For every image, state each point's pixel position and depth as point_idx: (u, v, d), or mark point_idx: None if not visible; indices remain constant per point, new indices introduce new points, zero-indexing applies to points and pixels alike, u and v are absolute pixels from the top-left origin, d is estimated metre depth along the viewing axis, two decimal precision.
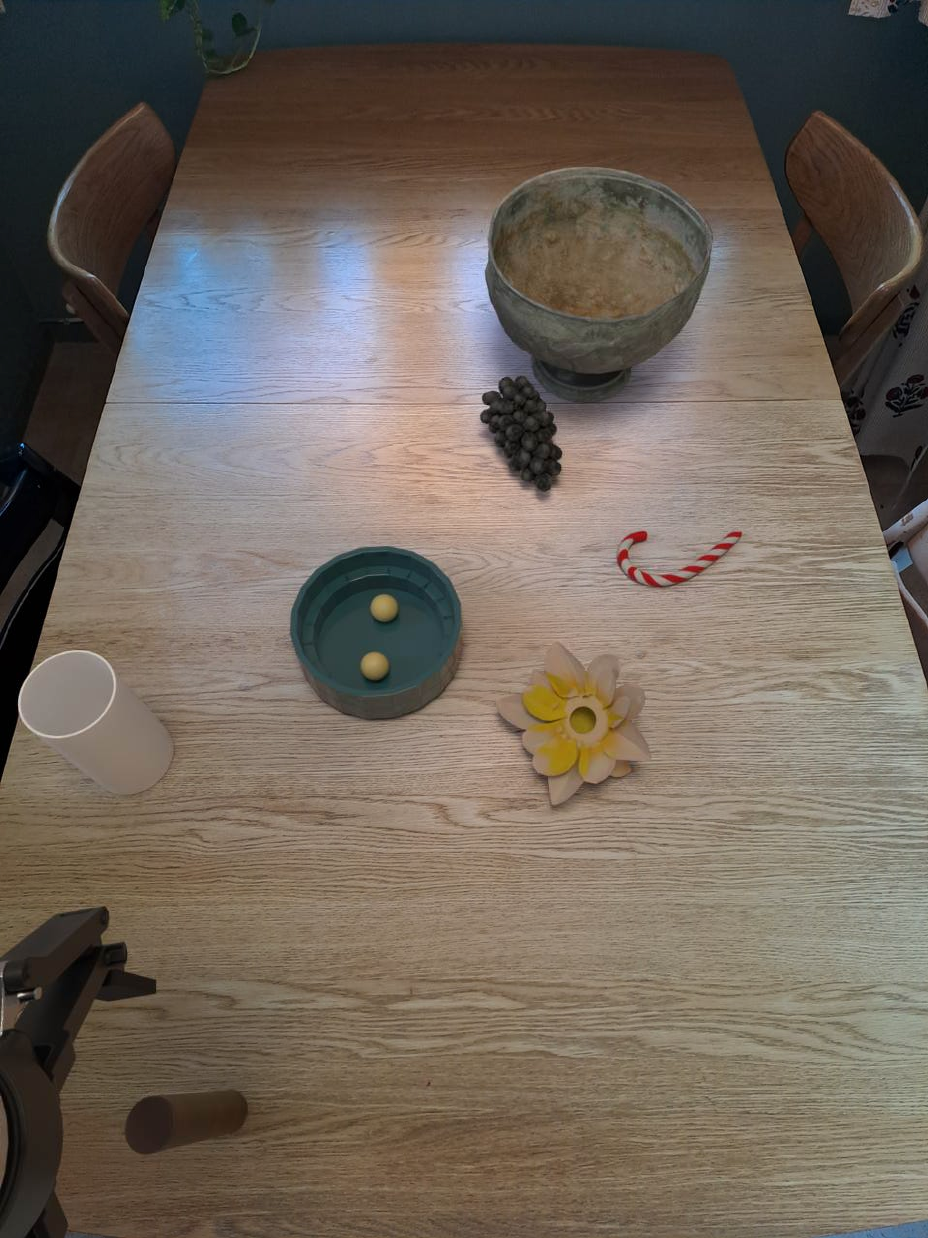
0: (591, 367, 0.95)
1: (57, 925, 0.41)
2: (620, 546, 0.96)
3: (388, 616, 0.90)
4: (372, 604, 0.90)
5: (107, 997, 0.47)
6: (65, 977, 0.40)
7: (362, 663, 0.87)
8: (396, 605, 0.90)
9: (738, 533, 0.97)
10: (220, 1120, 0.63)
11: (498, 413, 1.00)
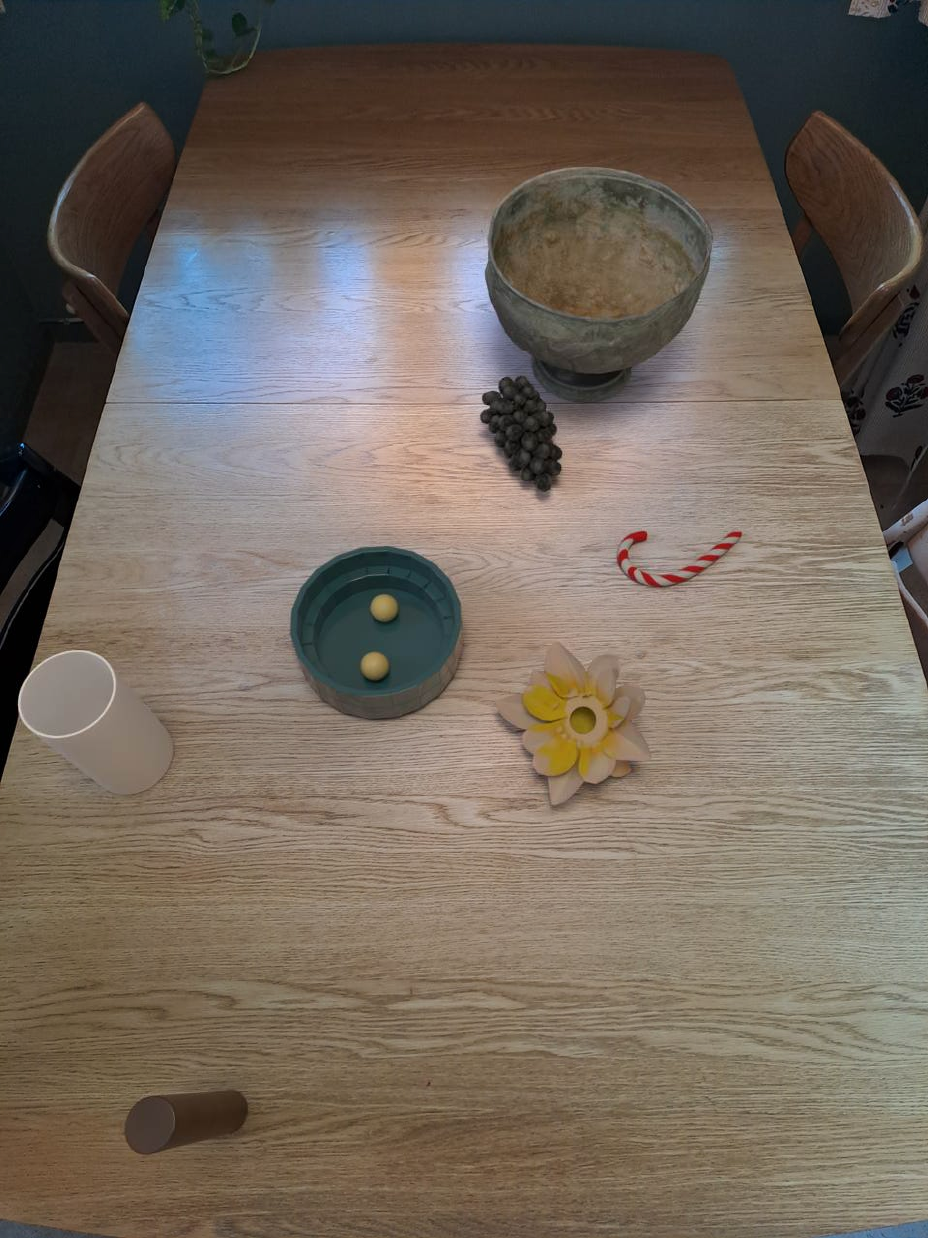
0: (591, 367, 0.95)
1: None
2: (620, 546, 0.96)
3: (388, 616, 0.90)
4: (372, 604, 0.90)
5: None
6: None
7: (362, 663, 0.87)
8: (396, 605, 0.90)
9: (738, 533, 0.97)
10: (220, 1120, 0.63)
11: (498, 413, 1.00)
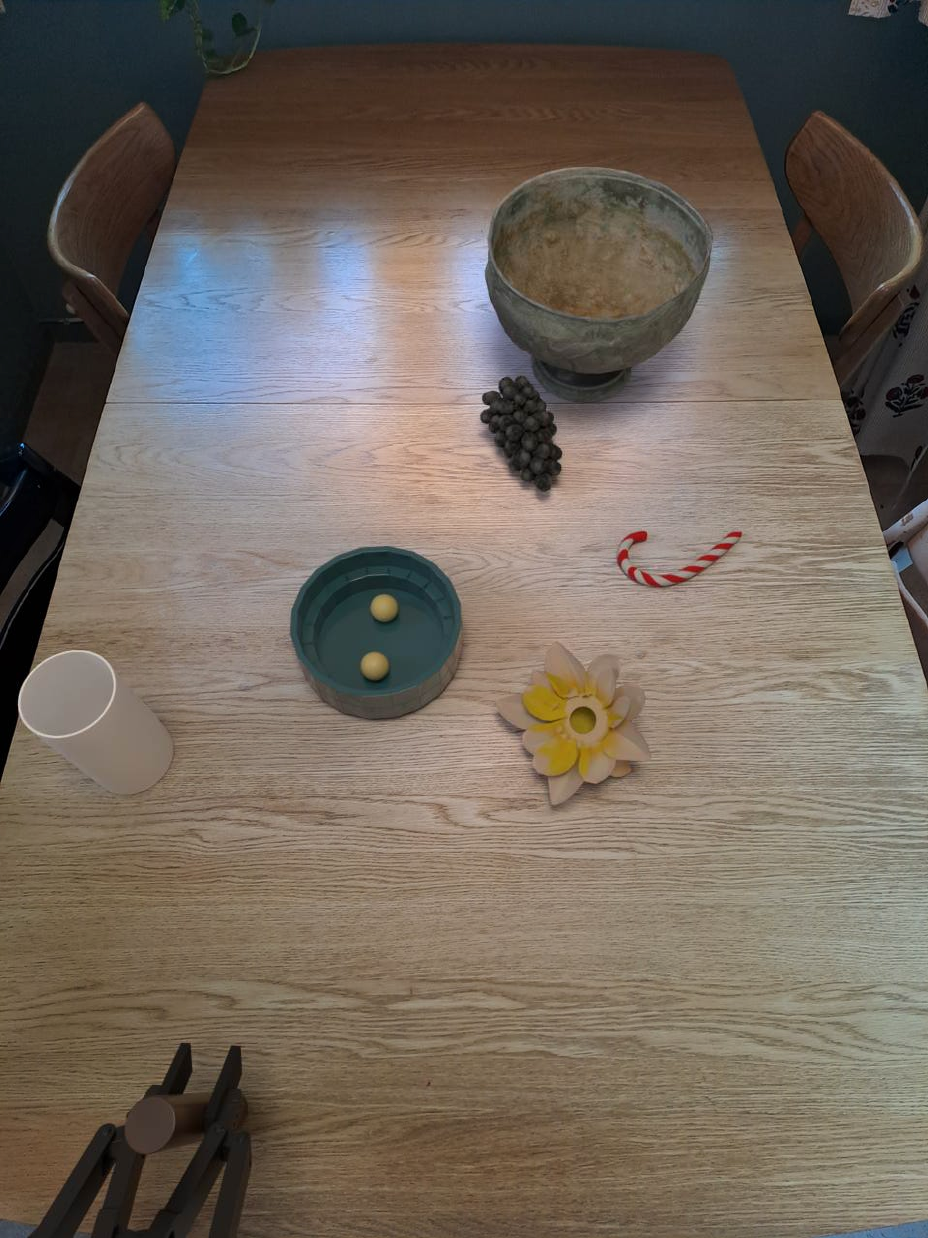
0: (591, 367, 0.95)
1: (244, 1178, 0.55)
2: (620, 546, 0.96)
3: (388, 616, 0.90)
4: (372, 604, 0.90)
5: None
6: (212, 1172, 0.56)
7: (362, 663, 0.87)
8: (396, 605, 0.90)
9: (738, 533, 0.97)
10: None
11: (498, 413, 1.00)
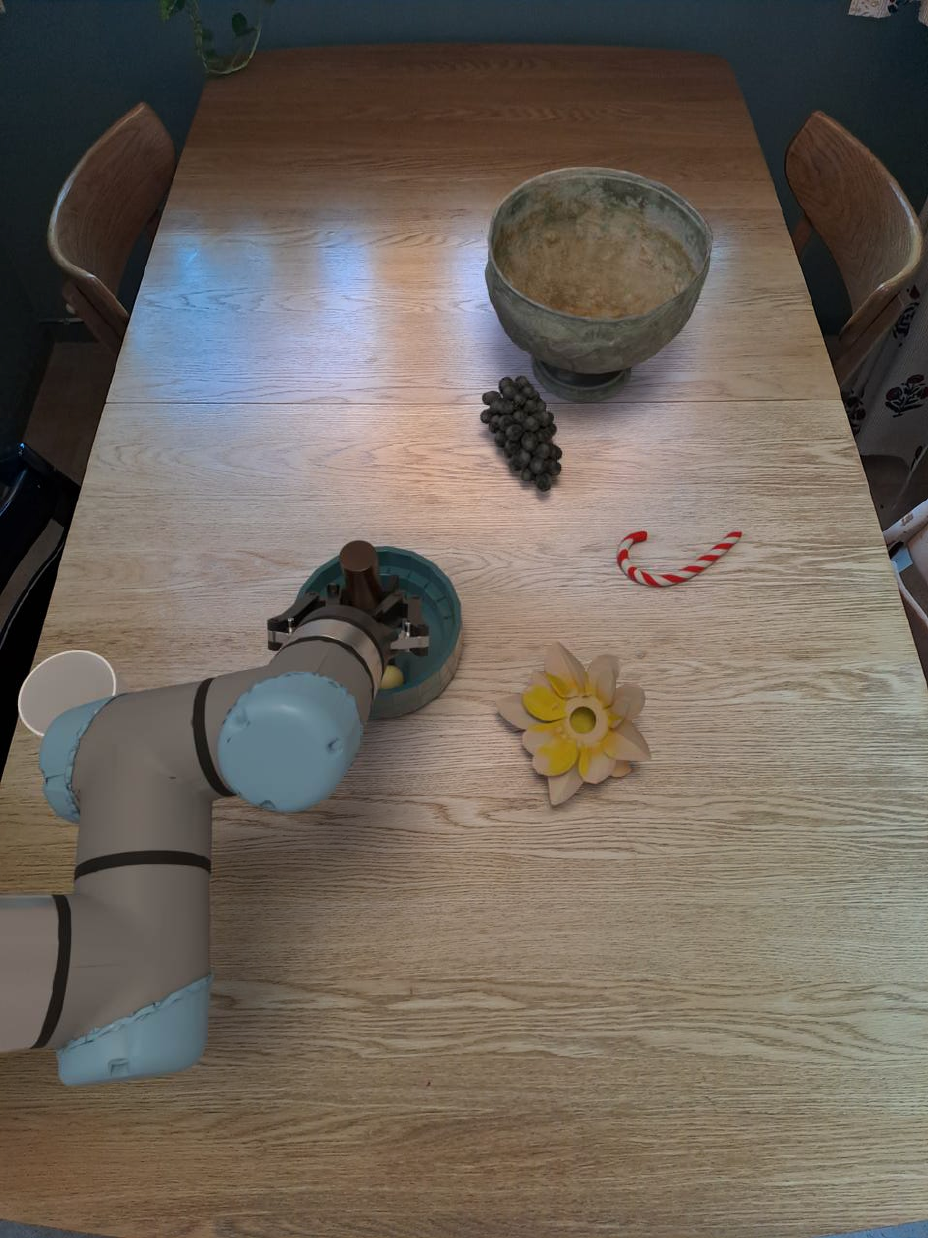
0: (591, 367, 0.95)
1: None
2: (620, 546, 0.96)
3: None
4: None
5: None
6: (396, 614, 0.74)
7: (387, 687, 0.85)
8: None
9: (738, 533, 0.97)
10: None
11: (498, 413, 1.00)
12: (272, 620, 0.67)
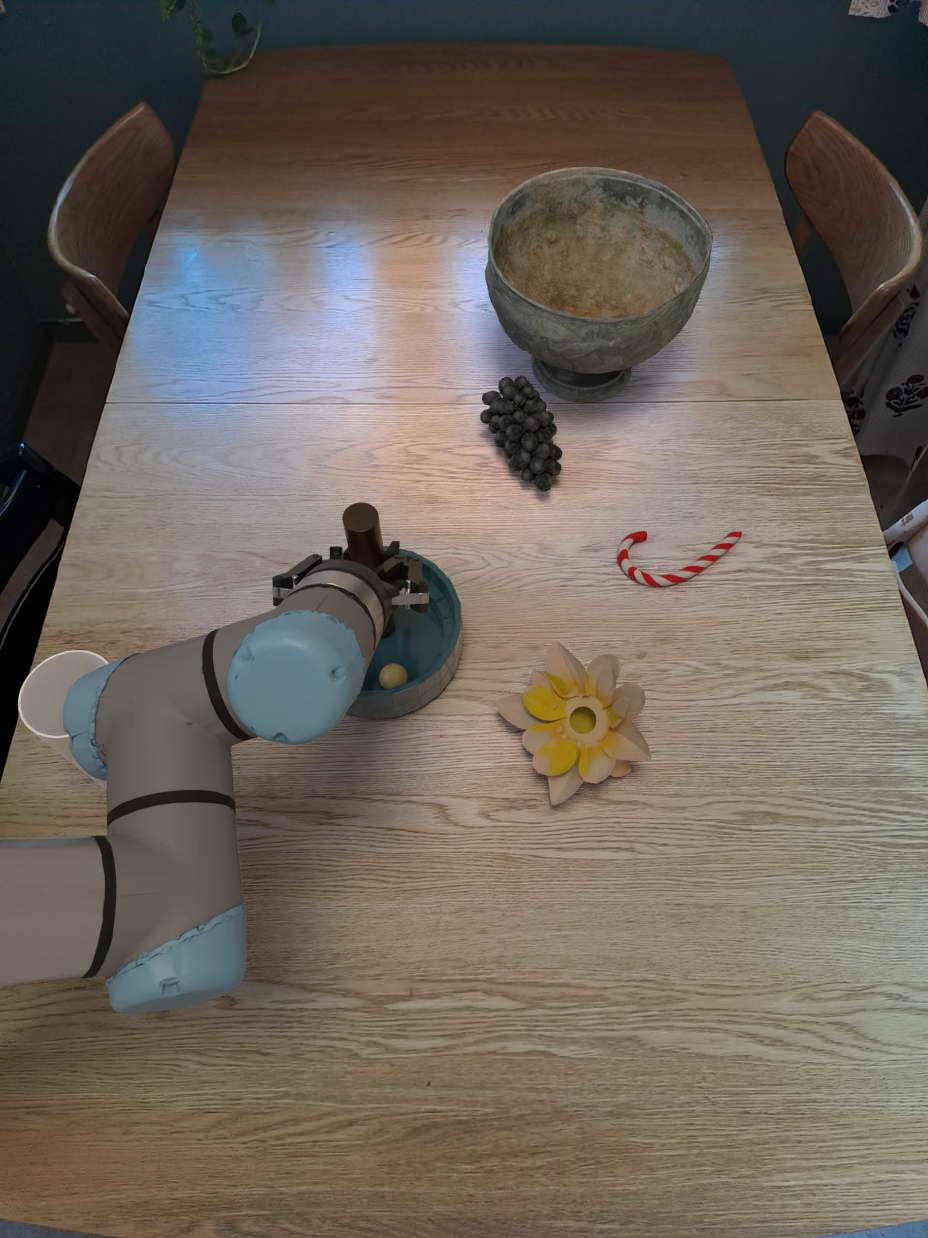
0: (591, 367, 0.95)
1: None
2: (620, 546, 0.96)
3: None
4: None
5: None
6: (397, 575, 0.77)
7: (388, 684, 0.85)
8: None
9: (738, 533, 0.97)
10: None
11: (498, 413, 1.00)
12: (277, 577, 0.70)
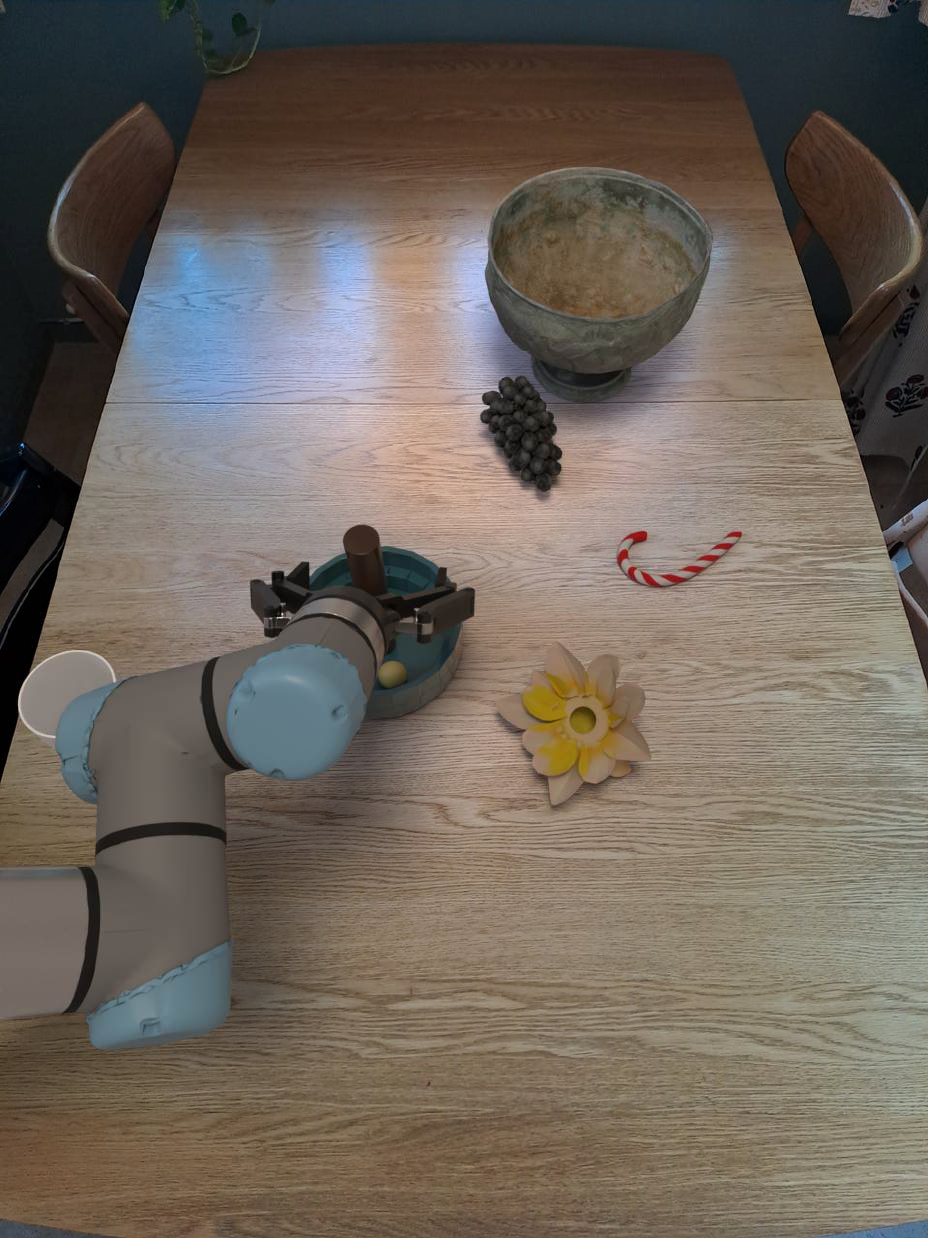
0: (591, 367, 0.95)
1: (462, 606, 0.73)
2: (620, 546, 0.96)
3: None
4: None
5: None
6: None
7: (387, 679, 0.86)
8: None
9: (738, 533, 0.97)
10: None
11: (498, 413, 1.00)
12: (270, 607, 0.67)
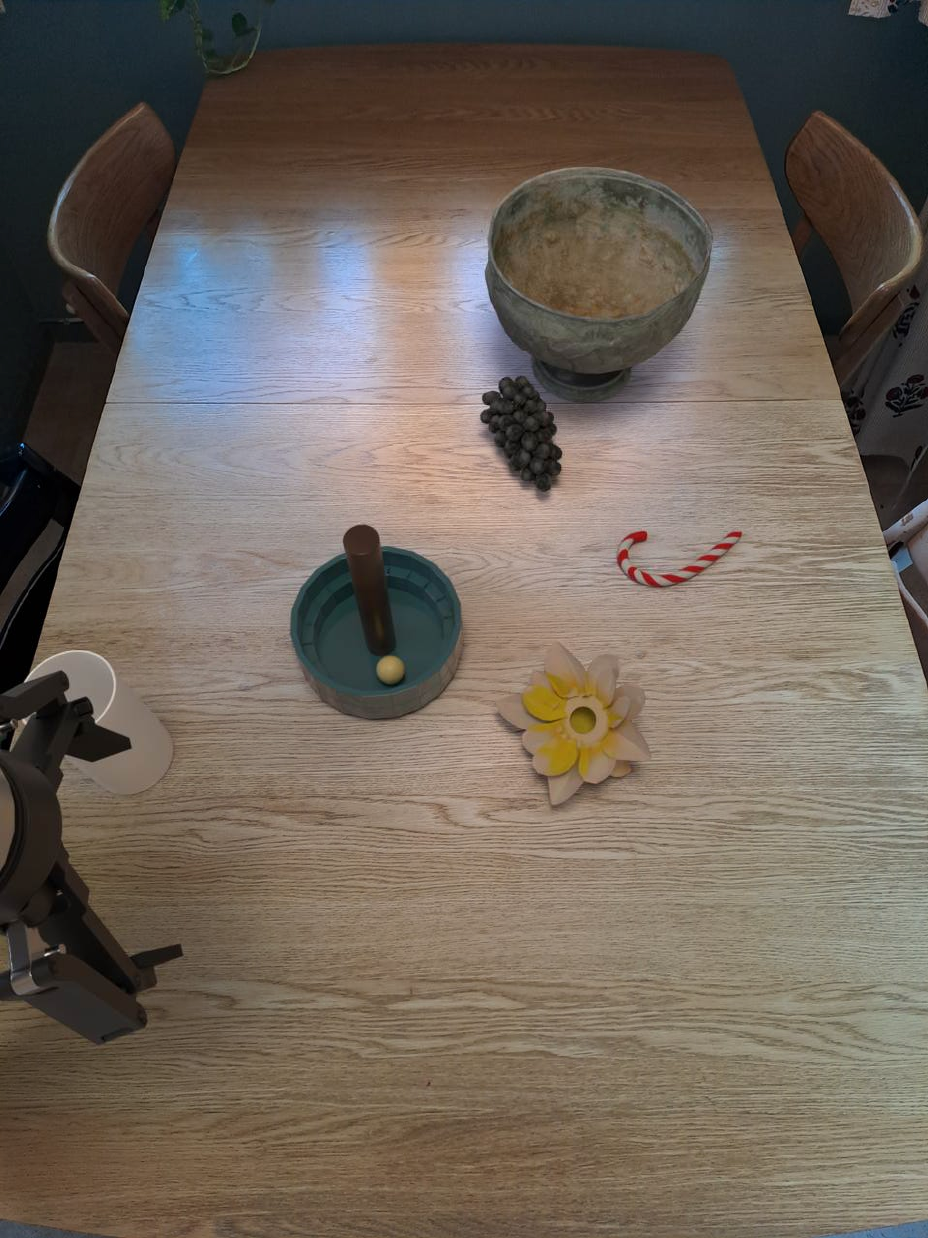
0: (591, 367, 0.95)
1: (103, 1021, 0.41)
2: (620, 546, 0.96)
3: None
4: None
5: None
6: None
7: (383, 668, 0.86)
8: None
9: (738, 533, 0.97)
10: (389, 605, 0.83)
11: (498, 413, 1.00)
12: None
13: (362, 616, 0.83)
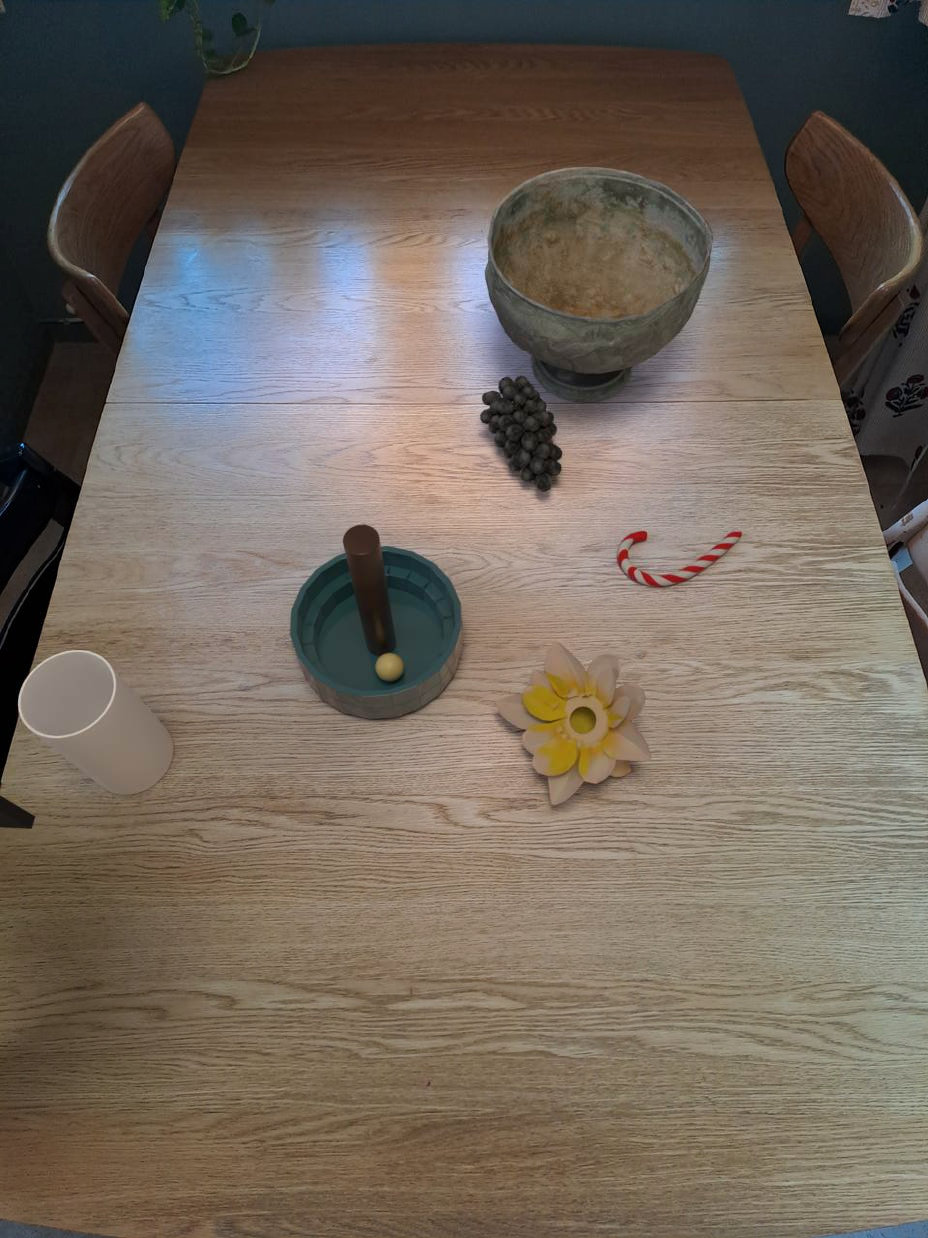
0: (591, 367, 0.95)
1: None
2: (620, 546, 0.96)
3: None
4: None
5: None
6: None
7: (381, 663, 0.86)
8: None
9: (738, 533, 0.97)
10: (389, 605, 0.83)
11: (498, 413, 1.00)
12: None
13: (362, 616, 0.83)
